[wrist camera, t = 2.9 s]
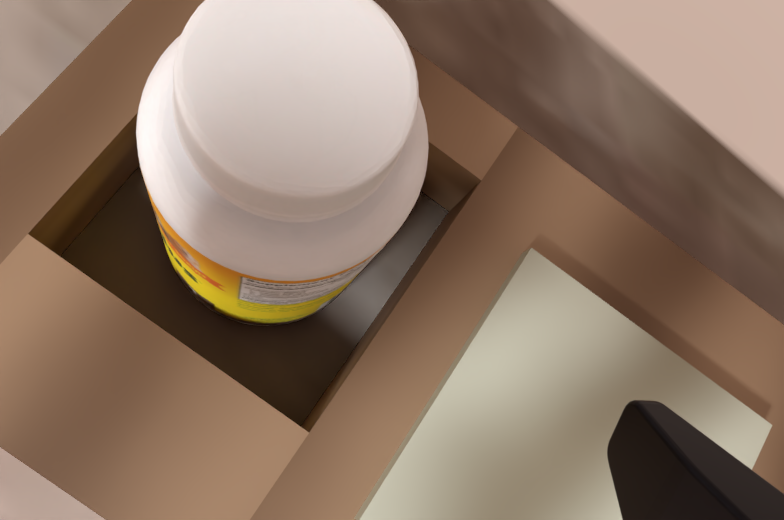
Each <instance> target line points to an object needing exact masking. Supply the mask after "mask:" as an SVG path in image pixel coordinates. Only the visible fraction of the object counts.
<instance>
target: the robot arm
mask: <svg viewBox="0 0 784 520" xmlns="http://www.w3.org/2000/svg"><path fill="white" fill-rule="evenodd" d="M607 458H608V464H609V468H610V472H611V476H612V480H613V484H614V488H615V492H616V496H617V500H618V504H619V508H620V512H621V516H622V520H784V494H783V493H782V492H781V491H779V490H778V489H777V488H775V487H774V486H773V485H771V484H770V483H769V482H767V481H766V480H765V479H763V478H762V477H761V476H759V475H758V474H757V473H755V472H754V471H753V470H751V469H750V468H749V467H747V466H746V465H745V464H743V463H742V462H741V461H739V460H738V459H737V458H735V457H734V456H732V455H731V454H730V453H728V452H727V451H726V450H724V449H723V448H722V447H720V446H719V445H718V444H716V443H715V442H714V441H712V440H711V439H710V438H708V437H707V436H706V435H704V434H703V433H702V432H700V431H699V430H698V429H696V428H695V427H694V426H692V425H691V424H690V423H688V422H687V421H686V420H684V419H683V418H682V417H680V416H679V415H677V414H676V413H675V412H673V411H672V410H671V409H669V408H668V407H667V406H665V405H664V404H663V403H661V402H658V401H648V400H633V401H630V402H629V403H628V404H626V406H625V408H624V410H623V412H622V414H621V416H620V418H619V420H618V423H617V425H616V427H615V429H614V431H613V433H612V436H611V438H610V440H609V443H608V448H607Z"/></svg>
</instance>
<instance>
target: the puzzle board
mask: <svg viewBox="0 0 784 520" xmlns="http://www.w3.org/2000/svg"><path fill="white" fill-rule="evenodd" d="M204 1H205V0H132V1H131V2H130V3H129V4H128V5H127V6H126V7H125V8H124V9H123V10H122V11H121V12H120V13H119V14H118V15H117V16H116V17H115V18H114V19H113V20H112V22H111V23H110V24H109V25H108V26H107V27H106V28H105V29H104V30H103V31H102V32H101V33H100V34H99V35H98V36H97V37H96V38H95V39H94V40H93V41H92V42H91V43H90V44H89V45H88V46H87V47H86V48H85V49H84V50H83V51H82V52H81V53H80V55H79V56H78V57H77V58H76V59H75V60H74V61H73V62H72V63H71V64H70V65H69V66H68V67H67V68H66V69H65V70H64V71H63V72H62V73H61V74H60V75H59V76H58V77H57V78H56V79H55V80H54V81H53V82H52V83H51V84H50V85H49V86H48V87H47V89H46V90H45V91H44V92H43V93H42V94H41V95H40V96H39V97H38V98H37V99H36V100H35V101H34V102H33V103H32V104H31V105H30V106H29V107H28V108H27V109H26V110H25V111H24V112H23V113H22V114H21V115H20V116H19V117H18V118H17V119H16V120H15V122H14V123H13V124H12V125H11V126H10V127H9V128H8V129H7V130H6V131H5V132H4V133H3V134H2V135H1V136H0V447H1V448H2V449H4V450H5V451H7V452H8V453H10V454H11V455H13V456H14V457H15V458H17V459H18V460H20V461H21V462H23V463H24V464H26V465H27V466H29V467H30V468H31V469H33V470H34V471H36V472H37V473H39V474H40V475H42V476H43V477H45V478H46V479H47V480H49V481H50V482H52V483H53V484H55V485H56V486H58V487H59V488H61V489H62V490H64V491H65V492H66V493H68V494H69V495H71V496H72V497H74V498H75V499H77V500H78V501H80V502H81V503H82V504H84V505H85V506H87V507H88V508H90V509H91V510H93V511H94V512H96V513H97V514H98V515H100V516H101V517H103V518H104V519H106V520H622V516H621V512H620V508H619V504H618V500H617V496H616V492H615V488H614V484H613V480H612V476H611V472H610V468H609V464H608V458H607V448H608V443H609V440H610V438H611V436H612V433H613V431H614V429H615V427H616V425H617V423H618V420H619V418H620V416H621V414H622V412H623V410H624V408H625V406H626V404H628V403H629V402H630V401H633V400H648V401H658V402H661V403H663V404H664V405H665V406H667V407H668V408H669V409H671V410H672V411H673V412H675V413H676V414H677V415H679V416H680V417H682V418H683V419H684V420H686V421H687V422H688V423H690V424H691V425H692V426H694V427H695V428H696V429H698V430H699V431H700V432H702V433H703V434H704V435H706V436H707V437H708V438H710V439H711V440H712V441H714V442H715V443H716V444H718V445H719V446H720V447H722V448H723V449H724V450H726V451H727V452H728V453H730V454H731V455H732V456H734V457H735V458H737V459H738V460H739V461H741V462H742V463H743V464H745V465H746V466H747V467H749V468H750V469H751V470H753V471H754V472H755V473H757V474H758V475H759V476H761V477H762V478H763V479H765V480H766V481H767V482H769V483H770V484H771V485H773V486H774V487H775V488H777V489H778V490H779V491H781V492H782V493H783V494H784V325H783V324H782V323H781V322H779V321H778V320H777V319H775V318H774V317H773V316H771V315H770V314H769V313H767V312H766V311H765V310H763V309H762V308H761V307H759V306H758V305H757V304H755V303H754V302H753V301H751V300H750V299H749V298H747V297H746V296H745V295H743V294H742V293H740V292H739V291H738V290H736V289H735V288H734V287H732V286H731V285H730V284H728V283H727V282H726V281H724V280H723V279H722V278H720V277H719V276H718V275H716V274H715V273H714V272H712V271H711V270H710V269H708V268H707V267H706V266H704V265H703V264H702V263H700V262H699V261H698V260H696V259H695V258H694V257H692V256H691V255H690V254H688V253H687V252H686V251H684V250H683V249H682V248H680V247H679V246H678V245H676V244H675V243H674V242H672V241H671V240H669V239H668V238H667V237H665V236H664V235H663V234H661V233H660V232H659V231H657V230H656V229H655V228H653V227H652V226H651V225H649V224H648V223H647V222H645V221H644V220H643V219H641V218H640V217H639V216H637V215H636V214H635V213H633V212H632V211H631V210H629V209H628V208H627V207H625V206H624V205H623V204H621V203H620V202H619V201H617V200H616V199H615V198H613V197H612V196H611V195H609V194H608V193H607V192H605V191H604V190H603V189H601V188H600V187H599V186H597V185H596V184H594V183H593V182H592V181H590V180H589V179H588V178H586V177H585V176H584V175H582V174H581V173H580V172H578V171H577V170H576V169H574V168H573V167H572V166H570V165H569V164H568V163H566V162H565V161H564V160H562V159H561V158H560V157H558V156H557V155H556V154H554V153H553V152H552V151H550V150H549V149H548V148H546V147H545V146H544V145H542V144H541V143H540V142H538V141H537V140H536V139H534V138H533V137H532V136H530V135H529V134H528V133H526V132H525V131H523V130H522V129H521V128H519V127H518V126H517V125H515V124H514V123H513V122H511V121H510V120H509V119H507V118H506V117H505V116H503V115H502V114H501V113H499V112H498V111H497V110H495V109H494V108H493V107H491V106H490V105H489V104H487V103H486V102H485V101H483V100H482V99H481V98H479V97H478V96H477V95H475V94H474V93H473V92H471V91H470V90H469V89H467V88H466V87H465V86H463V85H462V84H461V83H459V82H458V81H457V80H455V79H454V78H452V77H451V76H450V75H448V74H447V73H446V72H444V71H443V70H442V69H440V68H439V67H438V66H436V65H435V64H434V63H432V62H431V61H430V60H428V59H427V58H426V57H424V56H423V55H422V54H420V53H419V52H418V51H416V50H415V49H414V48H412V47H411V46H410V45H408V46H409V49H410V51H411V54H412V56H413V59H414V62H415V67H416V70H417V78H418V83H419V84H418V88H419V98H420V101H421V104H422V107H423V110H424V114H425V119H426V124H427V131H428V146H429V148H428V161H427V168H426V174H425V178H424V182H423V185H422V188H421V190H420V191H422V192H423V193H424V194H426V195H427V196H429V197H430V198H431V199H433V200H434V201H435V202H437V203H438V204H439V205H441V206H442V207H443V208H445V209H446V210H448V211H449V212H448V214H447V215H446V217H445V218H444V220H443V221H442V222H441V224H440V225H439V227H438V228H437V230H436V231H435V233H434V234H433V235H432V237H431V238H430V240H429V241H428V243H427V244H426V246H425V247H424V249H423V250H422V251H421V253H420V254H419V256H418V257H417V259H416V260H415V262H414V263H413V265H412V266H411V267H410V269H409V270H408V272H407V273H406V275H405V276H404V278H403V279H402V280H401V282H400V283H399V285H398V286H397V288H396V289H395V291H394V292H393V294H392V295H391V296H390V298H389V299H388V301H387V302H386V304H385V305H384V307H383V308H382V310H381V311H380V312H379V314H378V315H377V317H376V318H375V320H374V321H373V323H372V324H371V325H370V327H369V328H368V330H367V331H366V333H365V334H364V336H363V337H362V339H361V340H360V341H359V343H358V344H357V346H356V347H355V349H354V350H353V352H352V353H351V355H350V356H349V357H348V359H347V360H346V362H345V363H344V365H343V366H342V368H341V369H340V370H339V372H338V373H337V375H336V376H335V378H334V379H333V381H332V382H331V384H330V385H329V386H328V388H327V389H326V391H325V392H324V394H323V395H322V397H321V398H320V400H319V401H318V402H317V404H316V405H315V407H314V408H313V410H312V411H311V413H310V414H309V415H308V417H307V418H306V420H305V421H304V423H303V424H302V426H301V427H300V426H299V425H298V424H296V423H295V422H293V421H292V420H291V419H289V418H288V417H286V416H285V415H283V414H282V413H281V412H279V411H278V410H276V409H275V408H274V407H272V406H271V405H269V404H268V403H266V402H265V401H264V400H262V399H261V398H259V397H258V396H257V395H255V394H254V393H252V392H251V391H250V390H248V389H247V388H245V387H244V386H242V385H241V384H240V383H238V382H237V381H235V380H234V379H233V378H231V377H230V376H228V375H227V374H225V373H224V372H223V371H221V370H220V369H218V368H217V367H216V366H214V365H213V364H211V363H210V362H208V361H207V360H206V359H204V358H203V357H201V356H200V355H199V354H197V353H196V352H194V351H193V350H191V349H190V348H189V347H187V346H186V345H184V344H183V343H182V342H180V341H179V340H177V339H176V338H174V337H173V336H172V335H170V334H169V333H167V332H166V331H165V330H163V329H162V328H160V327H159V326H158V325H156V324H155V323H153V322H152V321H150V320H149V319H148V318H146V317H145V316H143V315H142V314H141V313H139V312H138V311H136V310H135V309H133V308H132V307H131V306H129V305H128V304H126V303H125V302H124V301H122V300H121V299H119V298H118V297H116V296H115V295H114V294H112V293H111V292H109V291H108V290H107V289H105V288H104V287H102V286H101V285H99V284H98V283H97V282H95V281H94V280H92V279H91V278H90V277H88V276H87V275H85V274H84V273H83V272H81V271H80V270H78V269H77V268H75V267H74V266H73V265H71V264H70V263H68V262H67V261H66V260H64V259H63V258H61V257H60V256H61V254H62V253H63V252H64V251H65V250H66V249H67V248H68V246H69V245H70V244H71V243H72V242H73V241H74V240H75V238H76V237H77V236H78V235H79V234H80V233H81V232H82V230H83V229H84V228H85V227H86V226H87V225H88V224H89V222H90V221H91V220H92V219H93V218H94V217H95V216H96V214H97V213H98V212H99V211H100V210H101V209H102V208H103V206H104V205H105V204H106V203H107V202H108V201H109V200H110V199H111V197H112V196H113V195H114V194H115V193H116V192H117V191H118V189H119V188H120V187H121V186H122V185H123V184H124V183H125V181H126V180H127V179H128V178H129V177H130V176H131V175H132V173H133V172H134V171H135V170H136V169H137V168H138V167H139V165H140V163H139V158H138V149H137V138H136V126H137V115H138V109H139V104H140V100H141V97H142V93H143V89H144V87H145V84H146V82H147V79H148V77H149V75H150V73H151V71H152V70H153V68H154V66H155V65H156V63H157V61H158V60H159V58H160V57H161V55H162V54H163V53H164V52H165V50H166V49H167V48H168V47H169V46H170V45H171V43H172V42H173V41H174V40H175V39H176V38H177V37H179V36H180V35H181V34H182V32H183V30H184V28H185V26H186V24H187V22H188V21H189V19H190V17H191V16H192V14H193V13H194V12H195V10H196V9H197V8H198V6H200V5H201V4H202V3H203V2H204Z"/></svg>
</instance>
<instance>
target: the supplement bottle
mask: <svg viewBox="0 0 784 520" xmlns="http://www.w3.org/2000/svg"><path fill="white" fill-rule="evenodd" d="M418 84H419V83H418V78H417V70H416V67H415V62H414V59H413V56H412V54H411V51H410V49H409V46H408V44H407V41H406V39H405V38H404V36H403V34H402V33H401V31H400V29H399V28H398V27H397V25H396V24H395V23H394V21H393V20H392V19H391V18H390V16H389V15H388V14H387V13H386V12H385V11H384V10H383V9H382V8H381V7H380V6H379V5H378V4H377V3H376V2H375V1H373V0H205V1H204V2H203V3H202V4H201V5H200V6H198V8H197V9H196V10H195V12H194V13H193V14H192V16H191V17H190V19H189V21H188V22H187V24H186V26H185V28H184V30H183V32H182V34H181V35H180V36H179V37H177V38H176V39H175V40H174V41H173V42H172V43H171V45H170V46H169V47H168V48H167V49H166V50H165V52H164V53H163V54H162V55H161V57H160V58H159V60H158V61H157V63H156V65H155V66H154V68H153V70H152V71H151V73H150V75H149V77H148V79H147V82H146V84H145V87H144V89H143V93H142V97H141V100H140V104H139V109H138V115H137V126H136V138H137V149H138V158H139V163H140V168H141V172H142V175H143V179H144V182H145V185H146V188H147V191H148V194H149V197H150V200H151V204H152V207H153V210H154V213H155V216H156V219H157V223H158V226H159V229H160V231H161V234H162V238H163V241H164V244H165V247H166V250H167V253H168V256H169V258H170V261H171V263H172V266H173V268H174V270H175V272H176V273H177V275H178V277H179V278H180V280H181V281H182V283H183V284H184V286H185V287H186V288H187V289H188V290H189V292H190V293H191V294H192V295H193V296H194V297H195V298H196V299H197V300H198V301H200V302H201V303H202V304H203V305H205V306H206V307H207V308H209V309H210V310H212V311H214V312H215V313H217V314H219V315H221V316H223V317H226V318H228V319H231V320H234V321H237V322H240V323H244V324H250V325H259V326H275V325H282V324H287V323H292V322H296V321H299V320H301V319H304V318H306V317H308V316H311V315H313V314H315V313H316V312H318V311H320V310H322V309H323V308H324V307H326V306H327V305H328V304H330V303H331V302H332V301H333V300H334V299H335V298H336V297H337V296H338V295H339V294H340V293H341V292H342V291H343V290H344V289H345V288H346V287H347V286H348V285H349V284H350V283H351V282H352V281H353V280H354V279H355V277H356V276H357V275H358V274H359V273H360V272H361V271H362V270H363V269H364V268H365V266H366V265H367V264H368V263H369V262H370V261H371V260H372V259H373V258H374V257H375V256H376V254H377V253H378V252H380V251H381V250H382V249H383V247H384V246H385V245H386V244H387V242H389V241H390V239H391V238H392V237H393V236H394V235H395V233H396V232H397V231H398V230H399V228H400V227H401V226H402V224H403V223H404V222H405V220H406V218H407V217H408V215H409V214H410V212H411V210H412V208H413V207H414V205H415V203H416V201H417V198H418V196H419V194H420V190H421V188H422V185H423V182H424V178H425V174H426V168H427V161H428V148H429V146H428V131H427V124H426V119H425V114H424V110H423V107H422V104H421V101H420V98H419V88H418Z"/></svg>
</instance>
